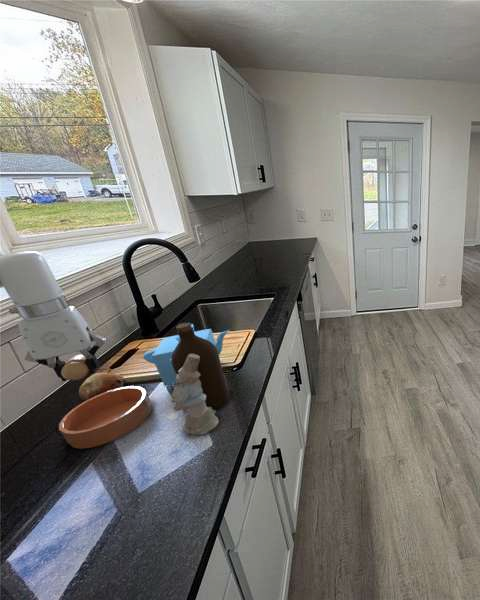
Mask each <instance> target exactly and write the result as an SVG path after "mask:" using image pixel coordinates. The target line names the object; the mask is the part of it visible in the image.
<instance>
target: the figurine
mask: <svg viewBox="0 0 480 600" xmlns="http://www.w3.org/2000/svg"><path fill="white" fill-rule="evenodd" d="M199 360H200V356H198V355H196V354H189V355H188V356H187V359H186V361H185V363H184V365H183V367H182V368H181V369H180V370H179V371H178V373H179V374H177V377H176V381H177V382H178V383H183V384H179V385H177V386H176V385H175V388H174V389H173V391H172V393H171V399H170V402H171V403H172V404H173V407H172V409H173V410H174V411H176V412H179V411H181V412H182V415H183V416H185V423H184V426H183V430H182V432H184V433H185V434H186V435H198V436H199V435H203V434H206V433H208V432H211V431H212V430H214V429H215V428H216V427H217V426H218V424H219V421H220V420H219V418H218V417H217V416H216V415H215V414H216V413H217V411H216V410H212V408H211V407H207V406H206V403H205V401H206V395H205V394H204V393H202V392H203V389H202V388H201V381H200V380H199V379H198V378H199V377H200V373H199V372H198V371H197V368H198V364H199Z"/></svg>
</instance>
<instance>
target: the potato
mask: <svg viewBox="0 0 480 600" xmlns="http://www.w3.org/2000/svg"><path fill="white" fill-rule="evenodd" d="M85 360H86V358H85V357H84V356H83V355H82V354H78V355H77V354H76V355H74V356H72V357H70V358H69V359H68V361H66V362H65V363H66V364H65V365H64V366H63V368H62V370H61V374H62V376H63V377H64V378H65V379H67V380H66V381H79V380H81V379H83V378H85V377H86V376H87V375H88V373H90V371H89V369H88V367H87V365H86V363H85Z"/></svg>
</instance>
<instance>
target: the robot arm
mask: <svg viewBox="0 0 480 600" xmlns="http://www.w3.org/2000/svg"><path fill="white" fill-rule="evenodd" d="M1 288H4V290H5V292H6V294H7V295H8V297H9V298H10V300H11V302H12V303H13V307H9V308H8V313H9V314H11V315H14V314H16V315H17V314H18V316H19V317H20V318H18V319H17V324H18V325H17V326H18V329H19V332H20V335H21V337H22V340H23V343H24V344H25V347H26V349H27V351H26V354H25V357H24V361H26V362H31V363H38V364H39V365H43V366H46V367H48V368H49V369H53V371H54V372H55V374H56V376H57V378H60V379H61V381H62V382H67V381H68V380H67V379H65V378H64V377H63V376H62V374H61V370H62V368H63V366H64V365H65V364H66V363H67V362H66V361H64V360H61V356H65V355H69V354H73V353H78V352H79V354H80V355H83V356H84V357H85V358H86V360H85V363H86V365H87V367H88V369H89V373H90V374H92V375H94V374H97V372H98V370H99V368H100V366H101V364H100V362H99V360H98V358H97V356H96V353H97V352H98V350H99V349H100V348H101V347H102V346H103V345H104V344H105V343H106V342H107V338H106V337H103V336H102V335H100V334H97V333H96V332H93V331H92V328H91V327H90V325H89V323H88V322H87V320H86V319H85V318H84V317H83V315H82V314H81V312H80V311H78V309H77V308H76V307H75V306H73V305H70V304H69V302H68V300H67V298H66V296H65V294H64V292H63V291H62V288H61V287H60V285H59V283H58V281H57V279H56V277H55V275H54V273H53V271H52V270H51V267H50V266H49V264H48V262H47V260H46V258H45V257H44V255H43V254H42V253H40V252H38V251H34V250H29V251H18V252H11V253H6V254H0V289H1ZM93 342H94V343H95V344H93V346H92V343H93Z"/></svg>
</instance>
